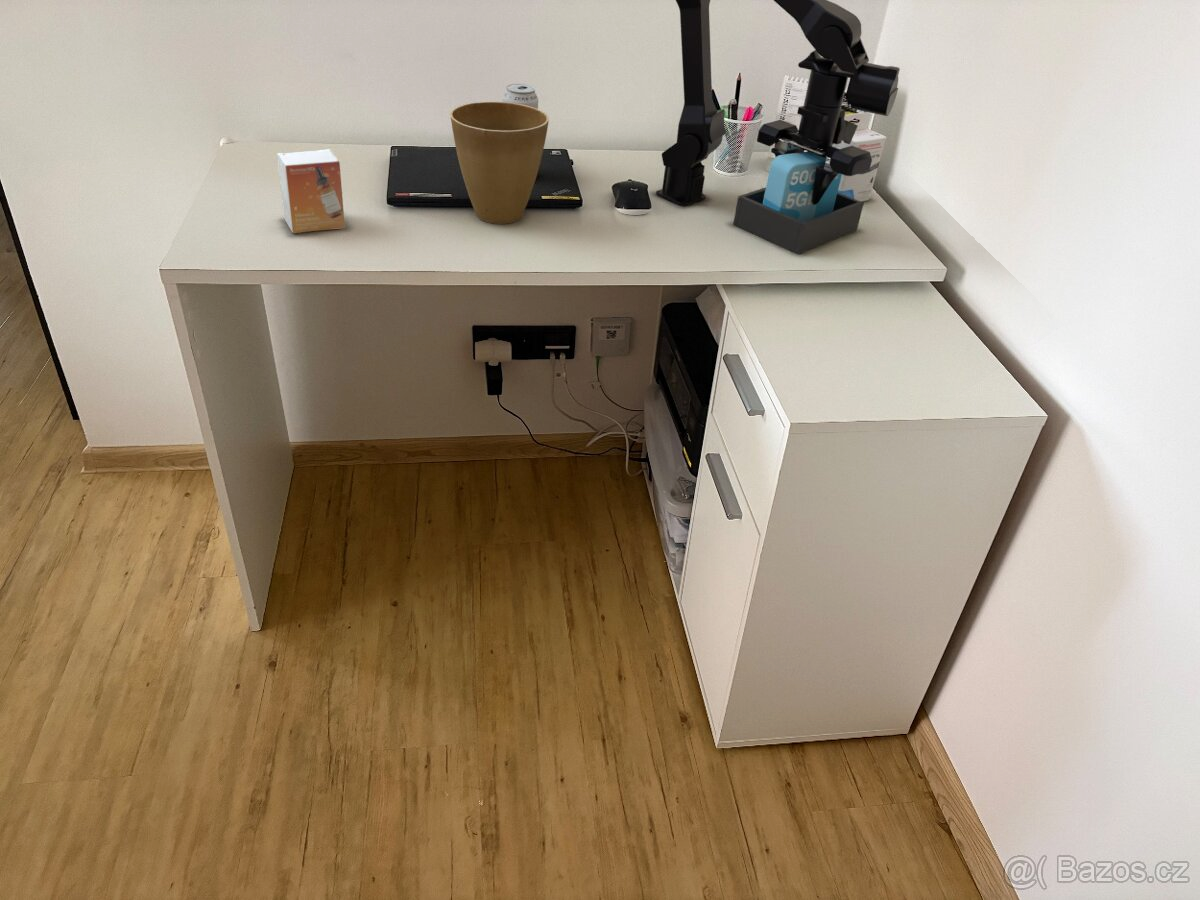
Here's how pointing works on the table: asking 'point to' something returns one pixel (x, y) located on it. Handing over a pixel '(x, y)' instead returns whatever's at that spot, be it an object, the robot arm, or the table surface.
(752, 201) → the black box
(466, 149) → the plant pot
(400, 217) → the table surface
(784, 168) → the data package
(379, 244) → the table surface
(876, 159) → the ink box
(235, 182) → the table surface
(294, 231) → the small box
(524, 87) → the energy drink can
